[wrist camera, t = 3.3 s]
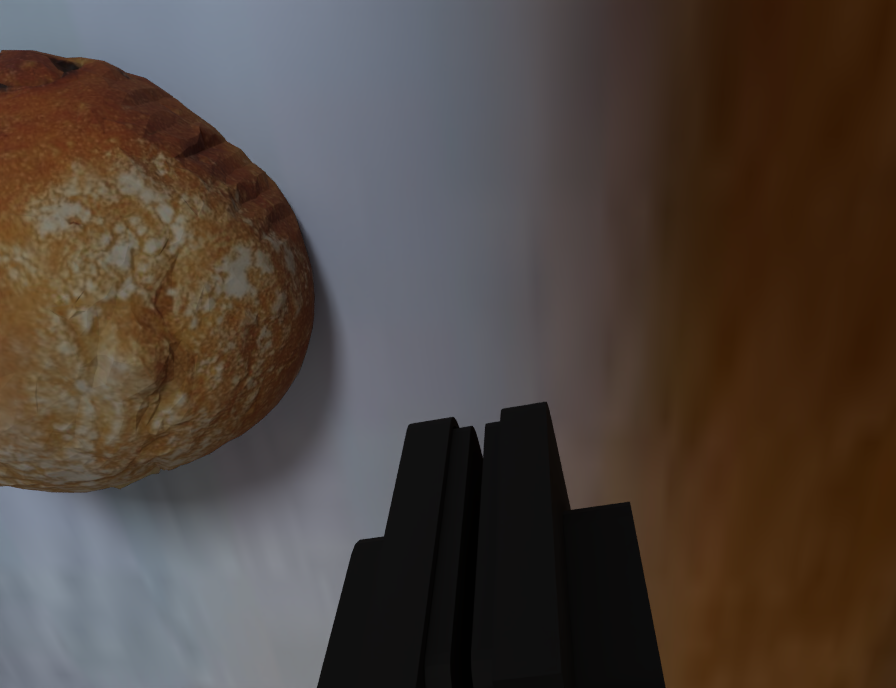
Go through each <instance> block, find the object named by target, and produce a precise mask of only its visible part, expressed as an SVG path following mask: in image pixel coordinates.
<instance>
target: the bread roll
mask: <svg viewBox="0 0 896 688" xmlns="http://www.w3.org/2000/svg"><path fill="white" fill-rule="evenodd" d="M314 302H315V294H314V283H313V272H312V268H311V264H310V261H309V257H308V254H307V251H306V247H305V244H304V241H303V238H302V235H301V232H300V228H299V225H298V222H297V219H296V217H295V214H294V212H293V210H292V209H291V207H290V205H289V203H288V202H287V200H286V198H285V197H284V195H283V194H282V192H281V191H280V189H279V188H278V186H277V185H276V183H275V182H274V181H273V180H272V179H271V178H270V177H269V176H268V175H267V174H266V173H265V172H264V171H263V170H262V169H261V168H259V167H258V166H257V165H255V164H254V163H252V162H251V161H250V159H249V158H248V157H247V156H246V155H245V153H244V152H243V151H242V150H241V149H240V148H238V147H236V146H234V145H232V144H230V143H229V142H227V141H226V140H225V138H224V137H223V136H222V135H221V134H220V133H219V132H218V131H217V130H216V129H215V128H214V127H213V126H211V125H210V124H209V123H207V122H206V121H204V120H203V119H202V118H200V117H199V116H197V115H196V114H195V113H193V112H192V111H191V110H189V109H188V108H186V107H185V106H184V105H183V104H182V103H180V102H179V101H178V100H177V99H175V98H173V96H171V95H170V94H168V93H167V92H166V91H164V90H163V89H161V88H160V87H158V86H157V85H155V84H153V83H152V82H150V81H149V80H147V79H146V78H143V77H140V76H136V75H133V74H129V73H126V72H124V71H123V70H121V69H119V68H117V67H115V66H113V65H111V64H109V63H107V62H105V61H101V60H95V59H88V58H82V57H76V58H64V57H60V56H55V55H51V54H46V53H42V52H38V51H33V50H2V51H1V53H0V486H11V487H16V488H21V489H29V490H39V491H46V492H69V493H74V492H90V491H95V490H100V489H105V488H109V487H115V488H118V489H121V488H123V487H125V486H127V485H129V484H131V483H133V482H136V481H138V480H140V479H142V478H144V477H146V476H148V475H151V474H157V473H159V471H160V469H162V470H172V469H175V468H177V467H178V466H180V465H184V464H188V463H190V462H192V461H194V460H196V459H199V458H201V457H203V456H206V455H208V454H210V453H212V452H213V451H215V450H216V449H218V448H219V447H221V446H222V445H224V444H225V443H227V442H228V441H230V440H232V439H235V438H237V437H239V436H241V435H242V434H244V433H245V432H246V431H248V430H249V429H250V428H252V427H253V426H254V425H255V424H257V423H258V422H259V421H260V420H262V419H263V418H264V417H265V416H266V415H267V414H268V413H269V412H270V411H271V410H272V409H273V408H274V407H275V406H276V405H277V404H278V403H279V402H280V400H281V399H282V397H283V396H284V395H285V393H286V392H287V390H288V389H289V387H290V386H291V384H292V383H293V381H294V379H295V378H296V376H297V375H298V373H299V371H300V369H301V366H302V363H303V360H304V357H305V354H306V351H307V348H308V344H309V340H310V336H311V332H312V328H313V321H314Z"/></svg>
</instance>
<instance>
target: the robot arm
mask: <svg viewBox="0 0 896 688" xmlns="http://www.w3.org/2000/svg"><path fill="white" fill-rule="evenodd" d="M317 688H666V687H665V682H664V677H663V672H662V666H661V661H660V656H659V651H658V646H657V640H656V635H655V630H654V625H653V620H652V614H651V609H650V604H649V599H648V593H647V588H646V583H645V578H644V573H643V567H642V562H641V557H640V552H639V546H638V541H637V536H636V531H635V526H634V520H633V515H632V510H631V505H630V502H624V503H617V504H610V505H603V506H596V507H589V508H582V509H575V510H571V508H570V504H569V499H568V494H567V490H566V485H565V480H564V476H563V471H562V466H561V462H560V457H559V452H558V448H557V443H556V438H555V434H554V429H553V424H552V420H551V415H550V411H549V407H548V404H547V402H541V403H535V404H529V405H523V406H517V407H510V408H504V409H502V410H501V418H500V421H499V422H493V423H487V424H486V425H485V437H484V453H483V456H482V453H481V449H480V445H479V441H478V437H477V434H476V431H475V429H474V427H473V426H468V427H462V428H459V425H458V423H457V421H456V419H455V418H454V417H449V418H443V419H437V420H431V421H425V422H419V423H413V424H410V425H408V428H407V432H406V436H405V441H404V446H403V450H402V455H401V460H400V464H399V469H398V474H397V478H396V483H395V488H394V492H393V497H392V502H391V507H390V511H389V516H388V521H387V525H386V530H385V535H384V537H377V538H370V539H363V540H359V541H358V542H357V543H356V544H355V546H354V549H353V551H352V554H351V558H350V562H349V566H348V570H347V573H346V577H345V581H344V585H343V589H342V593H341V597H340V601H339V604H338V608H337V612H336V616H335V620H334V624H333V628H332V631H331V635H330V639H329V643H328V647H327V651H326V655H325V659H324V662H323V666H322V670H321V674H320V678H319V682H318V686H317Z"/></svg>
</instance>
